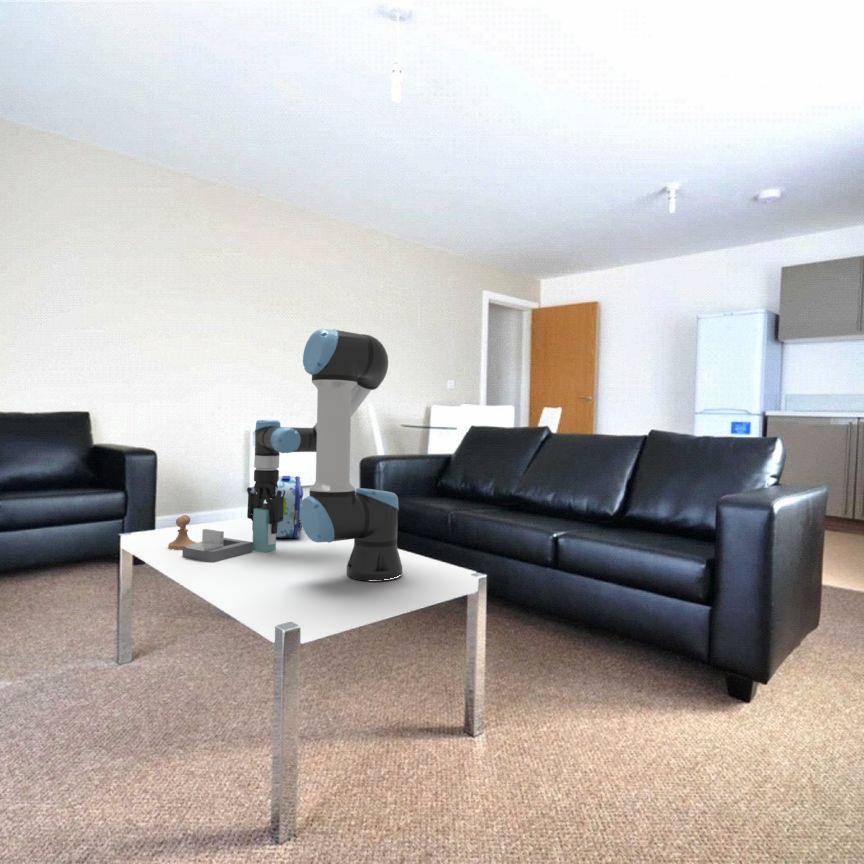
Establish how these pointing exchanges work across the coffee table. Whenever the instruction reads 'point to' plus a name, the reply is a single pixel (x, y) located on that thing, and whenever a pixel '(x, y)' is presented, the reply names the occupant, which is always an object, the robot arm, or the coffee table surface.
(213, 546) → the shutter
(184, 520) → the brown chess pawn
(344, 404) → the robot arm
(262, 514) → the teal bottle
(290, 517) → the lunch box
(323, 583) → the coffee table surface
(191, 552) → the socket
